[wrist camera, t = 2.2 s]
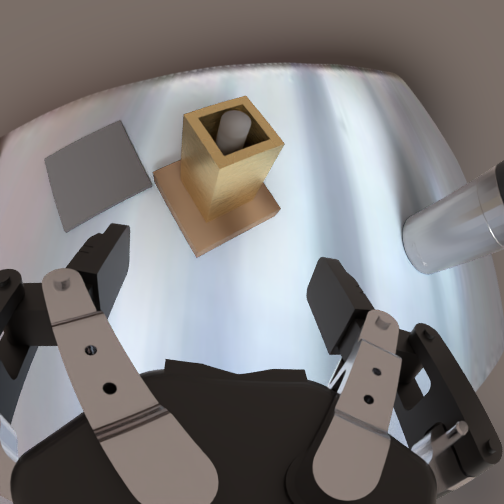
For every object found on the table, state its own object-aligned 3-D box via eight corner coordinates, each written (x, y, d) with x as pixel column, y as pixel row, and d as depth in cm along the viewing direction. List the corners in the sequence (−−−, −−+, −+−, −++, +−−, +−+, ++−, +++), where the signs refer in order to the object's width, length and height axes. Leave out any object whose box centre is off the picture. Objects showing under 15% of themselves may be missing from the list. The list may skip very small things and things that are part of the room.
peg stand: (230, 149, 33) (255, 69, 21) (275, 215, 32) (326, 152, 20) (154, 181, 30) (145, 99, 18) (196, 257, 29) (208, 204, 17)
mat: (120, 122, 31) (119, 120, 30) (152, 186, 29) (151, 184, 29) (45, 161, 27) (44, 159, 26) (66, 232, 26) (64, 231, 25)
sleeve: (226, 159, 30) (245, 95, 21) (252, 200, 30) (284, 143, 20) (180, 179, 28) (183, 114, 19) (206, 223, 28) (219, 169, 18)
